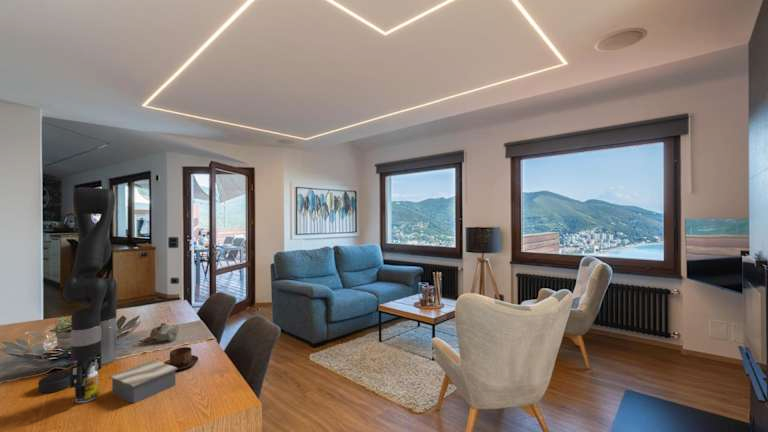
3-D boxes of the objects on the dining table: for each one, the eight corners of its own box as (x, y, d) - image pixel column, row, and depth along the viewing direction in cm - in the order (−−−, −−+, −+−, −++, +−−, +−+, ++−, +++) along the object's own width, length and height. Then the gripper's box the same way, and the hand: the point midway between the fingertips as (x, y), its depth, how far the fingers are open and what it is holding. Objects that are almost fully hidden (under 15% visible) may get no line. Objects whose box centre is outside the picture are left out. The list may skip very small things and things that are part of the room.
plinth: (109, 394, 114) (109, 376, 114) (154, 376, 126) (154, 360, 126) (133, 404, 107) (132, 385, 107) (177, 384, 120) (177, 367, 120)
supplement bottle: (73, 405, 107) (73, 373, 107) (77, 398, 112) (76, 366, 112) (96, 400, 110) (96, 368, 110) (99, 393, 115) (99, 362, 115)
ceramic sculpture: (173, 325, 158) (137, 328, 156) (174, 344, 158) (138, 348, 156) (183, 318, 169) (149, 322, 166) (184, 336, 169) (150, 339, 166)
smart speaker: (78, 385, 120) (78, 374, 120) (43, 397, 113) (43, 384, 113) (68, 379, 125) (68, 368, 125) (34, 390, 117) (34, 378, 117)
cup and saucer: (205, 363, 138) (204, 347, 138) (176, 375, 127) (175, 359, 127) (185, 357, 143) (185, 343, 143) (155, 369, 132) (155, 353, 132)
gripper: (88, 347, 105) (89, 401, 105) (110, 332, 119) (110, 380, 119) (58, 350, 103) (59, 405, 103) (84, 334, 117) (84, 383, 117)
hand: (86, 391), depth 111 cm, fingers open, 7 cm apart
